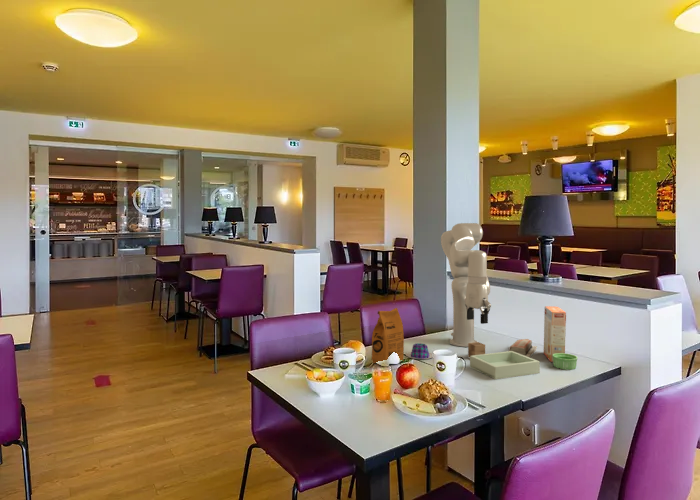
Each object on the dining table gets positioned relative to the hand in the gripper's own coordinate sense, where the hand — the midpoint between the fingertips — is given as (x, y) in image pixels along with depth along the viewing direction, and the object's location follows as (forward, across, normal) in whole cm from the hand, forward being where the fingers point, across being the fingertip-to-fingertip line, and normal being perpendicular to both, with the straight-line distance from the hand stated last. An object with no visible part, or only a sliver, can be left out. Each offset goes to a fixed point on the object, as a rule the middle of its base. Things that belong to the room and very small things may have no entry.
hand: (477, 321), depth 198 cm
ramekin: (+16, +22, +25) cm, 37 cm away
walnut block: (+16, -1, 0) cm, 16 cm away
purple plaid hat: (+16, -12, -21) cm, 29 cm away
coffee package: (+16, -8, -38) cm, 42 cm away
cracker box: (+16, +11, +30) cm, 36 cm away
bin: (+16, +17, 0) cm, 23 cm away
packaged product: (+16, -1, +24) cm, 29 cm away
